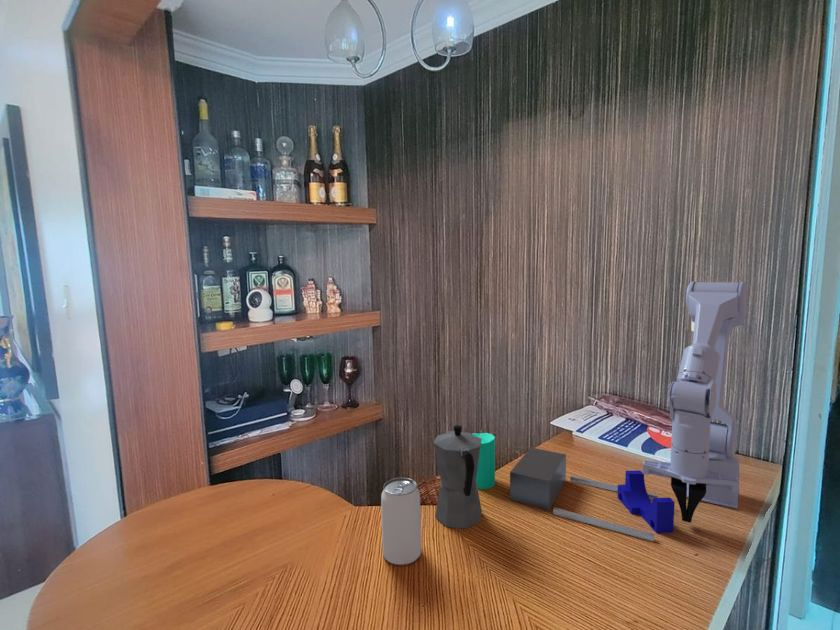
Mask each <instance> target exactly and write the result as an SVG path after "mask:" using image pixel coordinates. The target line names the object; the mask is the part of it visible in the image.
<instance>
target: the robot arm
mask: <svg viewBox="0 0 840 630" xmlns="http://www.w3.org/2000/svg"><path fill="white" fill-rule="evenodd" d="M748 289H749V288H748V284H746V283H745V281H740V282H739V281H737V282H733V281H732V282H729V281H728V282H727V281H726V282H723V281H719V282H718V281H716V282H715V281H713V282H712V281H709V282H707V281H704V282H703V281H699V282H698V281H691V282H690V283H689V284H688V285H687V289H686V293H685V295H686V296H685V306H686V308H687V310H688V314H689V317H690V319H691V321H692V322H693V323H694V325H693V326H694V327H693V338H692V343H691V345H689V346H686V347H685V348H684V349H683V351H682V357H681V360H680V361H681V362H680V366H679V369H678V373H677V378H676V381H672V382H671V384H670V385H669V386H670V387H669V391H668V405H669V419H670V421H671V423H672V424H671V443H670V444H671V446H670V447H671V448H670V462H668V461H667V462H665V461H663V462H662V461H655V460H654V461H651V460H646V459H643V463H642V472H643V474H644V475H646V476H647V475H654V476H660V477H664V478H670V487H671V489H672V491H673V493H674V496H675V498H676V500H677V503H678V506H679V509H680V514H681V521H683V522H685V523H690V524H691V523H692V521H693V520H692V519H693V516H694V514H695V513H694V512H695V511H696V509H697V507H698V505H699V504H700V503H701V502H704V503H710V504H715V505H720V506H721V507H722V506H723V507H728V508H732V509H738V508H739V505H738V504H739V502H738V501H739V495H740V461H739V458H738V456H737V457H736V456H734V455H735V453H736V449H737V443H738V421H737V419H736V417H735V416H734V415H733V414H732V413H731V412H729V411H728V410H727V409H726V408H725V407H723V400H724V393H725V392H724V391H725V389H724V388H725V381H726V370H727V361H728V352H729V351H728V349H729V343H730V337H731V334H732V332H733V328H737V327H738V326H741V325H744V321H745V320H746V315H747V307H748V306H747V304H748V299H749V298H748V296H749V295H748V292H749V290H748ZM712 420H715V421H716V422H715V421H712ZM717 421H720V422H717ZM721 422H723V423H721Z"/></svg>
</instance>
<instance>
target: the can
mask: <svg viewBox="0 0 840 630" xmlns="http://www.w3.org/2000/svg"><path fill="white" fill-rule="evenodd" d="M380 498H381V499H380V503H381V504H380V506H381V507H380V508H381V511H380V512H381V535H382V536H381V538H382V539H381V540H382V554H383V557H384V559H385V560H386V561H387V562H388V563H390V564H391V565H395V566H408V565H410V564H412V563H414V562H416V561H417V560H418V558H420V556H421V554H422V521H421V519H422V518H421V493H420V490H419V489H418V483H417V482H416V481H415V480H414V479H412V478H407V477H395V478H391V479H389V480H387V481H385V483H384V484H383V490H382V492H381V497H380Z"/></svg>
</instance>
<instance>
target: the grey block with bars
mask: <svg viewBox="0 0 840 630" xmlns="http://www.w3.org/2000/svg"><path fill="white" fill-rule="evenodd" d="M566 461H567V454H565V453H562V452H557V451H550V450H545V449H540V448H537V447H530V448H529V449H528V450H527V451H526V452H525V453H524V454H523V456H522V457H521V458H520V459H519V460H518V462H517V463H516V465H514V466H513V468H512V469H511V470H510V471H509V500H510V501H512V502H516V503H520V504H522V505H527V506H532V507H535V508H538V509H542V510H546V511H550V510H551V508H552V506H553V505H554V503H555V501H556V499H557V497H558V496H559V493H560V491H561V490H562V488H563V486H564V484H565V482H566V481H567V480H566V479H567V476H566V475H567V471H566V470H567V462H566ZM569 479H570V482H573V483H577V484H582V485H586V486H590V487H595V488H598V489H603V490H607V491H612V492H616V493H618V484H611V483H607V482H605V481H604V482H603V481H598V480H595V479H589V478H585V477H581V476H576V475H570V478H569ZM647 494H648V497H649V499H652V500H651V501H653V498H659V494H657V493H652V492H648V491H647ZM552 510H553V511H552V514H553V515H556V516H558V517H561V518H566V519H568V520H572V521H576V522H579V521H580V523H584V524H586V525H590V524H591V525H590V526H595V527H599V528H602V529H606V530H608V531H613V532H617V533H620V534H624V535H627V536H630V537H635V538H639V539H643V540H644V541H650V542H651V543H653V542H654V537H655V533H652V532H648V531H645V530H640V529H636V528H634V527H629V526H625V525H622V524H618V523H615V522H610V521H606V520H603V519H598V518H596V517H592V516H588V515H584V514H579V513H577V512H573V511H570V510H565V509H562V508H559V507H555V506H554V508H553V509H552Z"/></svg>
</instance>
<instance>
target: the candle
mask: <svg viewBox="0 0 840 630" xmlns="http://www.w3.org/2000/svg"><path fill="white" fill-rule="evenodd" d="M472 434H473V435H475V436H477V437H479V438H481V439H482V441H481V447H480V454H479V462H478V469H477V476H476V483H477V487H478V490H480V489H481V490H486V489H491V488H493V487H494V486H495V484H496V436H495V435H493V434H492V433H490V432H489V433H488V432H483V430H480V433H476V432H475V433H474V432H472Z"/></svg>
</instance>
